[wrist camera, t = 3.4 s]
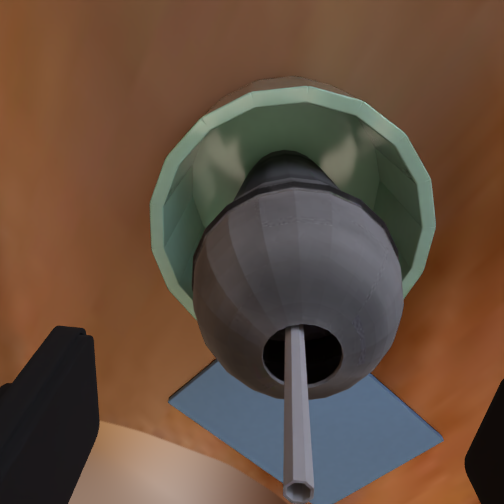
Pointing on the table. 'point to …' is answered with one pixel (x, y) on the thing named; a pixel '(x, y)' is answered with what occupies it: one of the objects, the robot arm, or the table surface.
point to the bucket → (294, 139)
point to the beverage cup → (297, 294)
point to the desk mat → (311, 429)
